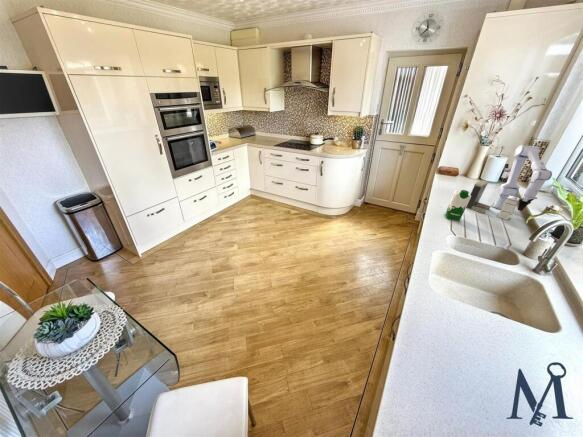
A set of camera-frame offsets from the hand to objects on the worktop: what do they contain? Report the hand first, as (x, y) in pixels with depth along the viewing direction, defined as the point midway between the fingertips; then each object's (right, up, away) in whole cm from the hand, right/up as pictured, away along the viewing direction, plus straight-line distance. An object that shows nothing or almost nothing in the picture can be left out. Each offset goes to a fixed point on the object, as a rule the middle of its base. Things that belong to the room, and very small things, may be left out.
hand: (521, 208), depth 150 cm
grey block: (-14, +1, +19) cm, 23 cm away
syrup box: (-4, -6, +9) cm, 11 cm away
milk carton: (-42, -6, +5) cm, 42 cm away
